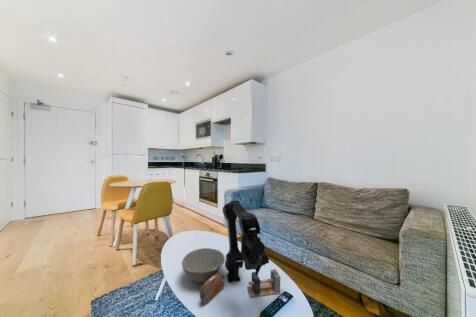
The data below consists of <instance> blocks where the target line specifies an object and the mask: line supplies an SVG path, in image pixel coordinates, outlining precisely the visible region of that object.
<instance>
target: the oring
mask: <svg viewBox="0 0 476 317" xmlns="http://www.w3.org/2000/svg"><path fill="white" fill-rule="evenodd" d="M260 280H261V279H260V277H259V274H258V275H257V276H256V271H253V272H251V281H254V285H251V286H252V287H253V290H254V292H255V294H260Z"/></svg>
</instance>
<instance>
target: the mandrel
mask: <svg viewBox="0 0 476 317" xmlns="http://www.w3.org/2000/svg"><path fill="white" fill-rule="evenodd" d="M252 285H254V281H252V280H251V281H248V285H247V286H246V289H247V291H248V295H249V298H250V299H252V298H253V299H254V298H261V297H268V296H274V295H280V294H281V275H280V274H279V273H278V271H277V269H270V278H267V279H260V294H255V292H254V290H253V287H252Z"/></svg>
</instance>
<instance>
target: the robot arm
mask: <svg viewBox="0 0 476 317" xmlns="http://www.w3.org/2000/svg"><path fill="white" fill-rule="evenodd" d="M222 213H223V217H224V218H225V220H226V221H227V222H226V223H227V234H228V243H229V244H228V246H229V247H228V248H229V249H228V253H226V255H225V261H224V267H225V269H226V271H227V273H226V277H227V281H228V283H234V282H235V283H236V282H241V277H240V268H241V269H242V268H243V267H244V268H245V270H246V271H249V270H255V272H256V276H257V275H258V276H259V272H260V270H261V268H262V266H265V265H266V264H269V263H270V258H269V256H268V253H267V252H266V250H265V249H266V247H265V245H264V242H262V240H261V238H260V237H259V236H258V235H260V234H261V227H260V223H259V220H258V218H257V216H256V215H255V214H254V213H252V212H249V211H247V210H246V208H244V206H243V205H242V204H241V201H240V200H231V201H229V202H228V203H226V204H224V205H223V207H222ZM237 219H238V225H239V227H240V228H239V229H240V231H241V237H240V238H241V239H240V240H241V241H240V249H239V243H238V242H239V241H238V232H237V222H236V221H237Z"/></svg>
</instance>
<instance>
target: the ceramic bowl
mask: <svg viewBox="0 0 476 317" xmlns="http://www.w3.org/2000/svg"><path fill="white" fill-rule="evenodd" d="M225 261H226V258H225V255H224V253H223V252H221V251H220V250H218V249H215V248H209V247H208V248H206V247H205V248H198V249H195V250H192V251H190V252H188V253H187V254H186V255H185V256H184V257H183V258H182V260H181V267H182V269H183V271H184V273H185V274H186V276H187V277H188V278H189V279H190V280H191V281H193V282H195V283H197V284H202V283H205V282H206V281H207V280H208V279H210V278H211V277H212V276H213V275H215V274H216V273H219V271H220V269H221V268H222V266H223V265H224V264H225Z"/></svg>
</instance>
